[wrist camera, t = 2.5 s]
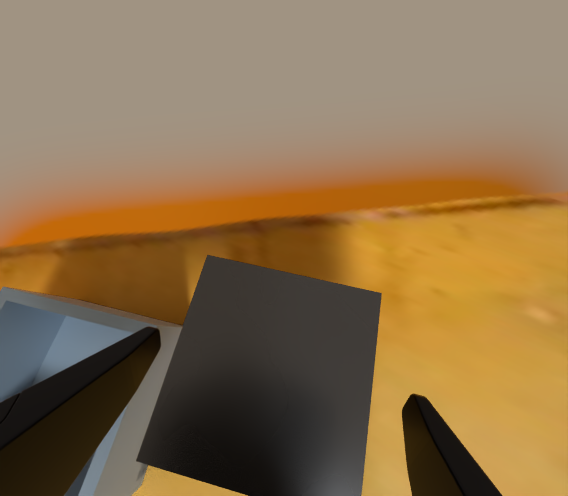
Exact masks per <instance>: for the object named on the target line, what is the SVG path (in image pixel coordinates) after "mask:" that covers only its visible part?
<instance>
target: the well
mask: <svg viewBox="0 0 568 496" xmlns="http://www.w3.org/2000/svg"><path fill="white" fill-rule="evenodd" d="M148 326H150V327H154V328H158V329H159V330H160V337H161V348H160V351H159V352H158V354H157V356H156V358H155V360H154V361H153V363H152V365H151V367H150V368H149V370H148V372H147V374H146V375H145V377H144V379H143V381H142V383H141V384H140V386H139V388H138V389H137V391H136V393H135V394H134V396H133V397H132V399H131V400H130V402H129V403H128V404H127V406H126V407H125V409H124V410H123V412H122V413H121V414H120V416H119V417H118V419H117V420H116V422H115V423H114V425H113V426H112V427H111V429H110V430H109V432H108V433H107V435H106V436H105V438H104V439H103V440H102V442H101V443H100V445H99V446H98V448H97V449H96V450H95V452H94V453H93V455H92V456H91V458H90V459H89V461H88V462H87V463H86V465H85V466H84V468H83V469H82V471H81V472H80V473H79V475H78V476H77V478H76V479H75V481H74V482H73V484H72V485H71V486H70V488H69V489H68V491H67V492H66V494H65V495H64V496H131V495H132V494H133V493H134V492H135V491H136V490H137V489H138V488H139V487H140V486H141V485H142V482H143V479H144V476H145V473H146V470H147V467H148V465H147V464H144V463H140V462H137V461H136V459H137V456H138V453H139V450H140V447H141V445H142V442H143V439H144V436H145V433H146V430H147V427H148V424H149V422H150V419H151V416H152V413H153V410H154V407H155V404H156V401H157V399H158V396H159V393H160V390H161V387H162V384H163V381H164V378H165V376H166V373H167V370H168V367H169V364H170V361H171V358H172V355H173V352H174V350H175V347H176V344H177V341H178V338H179V335H180V332H181V329H182V327H183V326H182V325H178V324H174V323H170V322H166V321H162V320H158V319H154V318H150V317H146V316H142V315H138V314H134V313H130V312H126V311H122V310H118V309H114V308H110V307H106V306H102V305H98V304H94V303H90V302H86V301H82V300H78V299H72V298H66V297H60V296H54V295H49V294H43V293H37V292H31V291H25V290H20V289H14V288H8V287H3V288H2V289H1V291H0V402H2V401H4V400H6V399H8V398H10V397H12V396H14V395H16V394H17V393H21V392H22V391H23V390H25V389H27V388H29V387H31V386H33V385H35V384H37V383H39V382H41V381H43V380H45V379H47V378H49V377H50V376H52V375H54V374H56V373H58V372H60V371H62V370H64V369H66V368H68V367H70V366H72V365H74V364H76V363H77V362H79V361H81V360H83V359H85V358H87V357H89V356H91V355H93V354H95V353H97V352H99V351H101V350H103V349H104V348H106V347H108V346H110V345H112V344H114V343H116V342H118V341H120V340H122V339H124V338H126V337H128V336H130V335H131V334H133V333H135V332H137V331H139V330H141V329H143V328H145V327H148Z"/></svg>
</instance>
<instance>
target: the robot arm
mask: <svg viewBox="0 0 568 496" xmlns="http://www.w3.org/2000/svg"><path fill="white" fill-rule="evenodd" d="M160 348H161V337H160V330H159V329H158V328H154V327H150V326H148V327H145V328H143V329H141V330H139V331H137V332H135V333H133V334H131V335H130V336H128V337H126V338H124V339H122V340H120V341H118V342H116V343H114V344H112V345H110V346H108V347H106V348H104V349H103V350H101V351H99V352H97V353H95V354H93V355H91V356H89V357H87V358H85V359H83V360H81V361H79V362H77V363H76V364H74V365H72V366H70V367H68V368H66V369H64V370H62V371H60V372H58V373H56V374H54V375H52V376H50V377H49V378H47V379H45V380H43V381H41V382H39V383H37V384H35V385H33V386H31V387H29V388H27V389H25V390H23V391H22V392H21V393H17V394H16V395H14V396H12V397H10V398H8V399H6V400H4V401H2V402H0V496H64V495H65V494H66V492H67V491H68V489H69V488H70V486H71V485H72V484H73V482H74V481H75V479H76V478H77V476H78V475H79V473H80V472H81V471H82V469H83V468H84V466H85V465H86V463H87V462H88V461H89V459H90V458H91V456H92V455H93V453H94V452H95V450H96V449H97V448H98V446H99V445H100V443H101V442H102V440H103V439H104V438H105V436H106V435H107V433H108V432H109V430H110V429H111V427H112V426H113V425H114V423H115V422H116V420H117V419H118V417H119V416H120V414H121V413H122V412H123V410H124V409H125V407H126V406H127V404H128V403H129V402H130V400H131V399H132V397H133V396H134V394H135V393H136V391H137V389H138V388H139V386H140V384H141V383H142V381H143V379H144V377H145V375H146V374H147V372H148V370H149V368H150V367H151V365H152V363H153V361H154V360H155V358H156V356H157V354H158V352H159V351H160ZM402 421H403V431H404V442H405V452H406V462H407V470H408V475H409V481H410V486H411V491H412V496H502V494H501V493H500V492H499V491H498V489H497V488H496V487H495V485H494V484H493V483H492V482H491V480H490V479H489V478H488V476H487V475H486V474H485V473H484V471H483V470H482V469H481V467H480V466H479V465H478V464H477V462H476V461H475V460H474V458H473V457H472V456H471V454H470V453H469V452H468V451H467V449H466V448H465V447H464V445H463V444H462V443H461V442H460V440H459V439H458V438H457V436H456V435H455V434H454V433H453V431H452V430H451V429H450V427H449V426H448V425H447V424H446V422H445V421H444V420H443V418H442V417H441V416H440V415H439V413H438V412H437V411H436V409H435V408H434V407H433V406H432V404H431V403H430V402H429V400H428V399H427V398H426V397H424V396H421V395H417V394H411V395H410V397H409V398H408V400H407V402H406V403H405V405H404V407H403V409H402Z"/></svg>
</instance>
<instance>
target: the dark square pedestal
mask: <svg viewBox="0 0 568 496" xmlns="http://www.w3.org/2000/svg"><path fill="white" fill-rule="evenodd" d="M381 294H382V293H378V292H374V291H369V290H365V289H360V288H355V287H351V286H346V285H342V284H337V283H333V282H328V281H324V280H319V279H315V278H310V277H306V276H301V275H296V274H292V273H287V272H283V271H278V270H274V269H269V268H265V267H260V266H256V265H251V264H247V263H242V262H237V261H233V260H228V259H224V258H219V257H215V256H210V255H207V258H206V260H205V263H204V266H203V269H202V272H201V275H200V278H199V281H198V283H197V286H196V289H195V292H194V295H193V298H192V301H191V304H190V306H189V309H188V312H187V315H186V318H185V321H184V324H183V327H182V329H181V332H180V335H179V338H178V341H177V344H176V347H175V350H174V352H173V355H172V358H171V361H170V364H169V367H168V370H167V373H166V376H165V378H164V381H163V384H162V387H161V390H160V393H159V396H158V399H157V401H156V404H155V407H154V410H153V413H152V416H151V419H150V422H149V424H148V427H147V430H146V433H145V436H144V439H143V442H142V445H141V447H140V450H139V453H138V456H137V459H136V461H137V462H140V463H144V464H147V465H150V466H153V467H157V468H160V469H163V470H166V471H170V472H173V473H176V474H180V475H183V476H186V477H189V478H193V479H196V480H199V481H202V482H206V483H209V484H212V485H216V486H219V487H222V488H225V489H229V490H232V491H235V492H238V493H242V494H245V495H248V496H361V493H362V483H363V473H364V463H365V454H366V444H367V434H368V424H369V414H370V404H371V394H372V384H373V374H374V364H375V354H376V344H377V334H378V324H379V314H380V304H381Z"/></svg>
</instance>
